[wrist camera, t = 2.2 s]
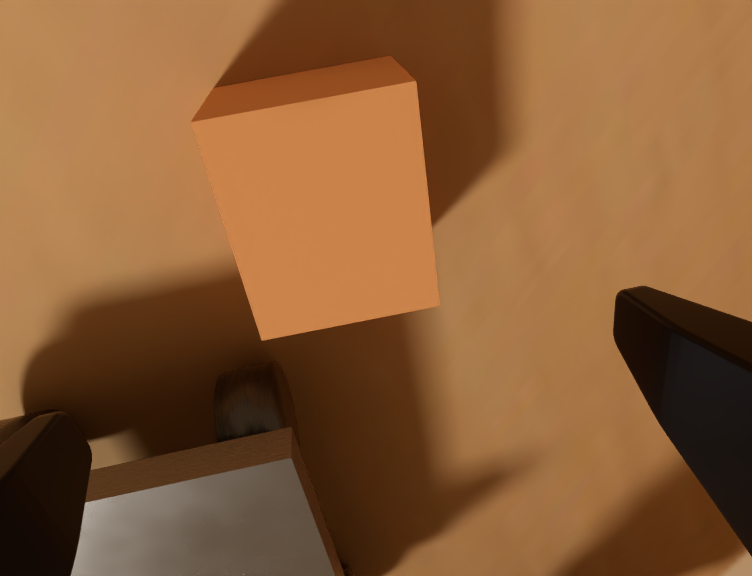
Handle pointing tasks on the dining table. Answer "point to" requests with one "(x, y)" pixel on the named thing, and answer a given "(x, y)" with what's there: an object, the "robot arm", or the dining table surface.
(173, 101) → the dining table surface
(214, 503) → the platform trolley
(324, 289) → the orange rectangular carton
